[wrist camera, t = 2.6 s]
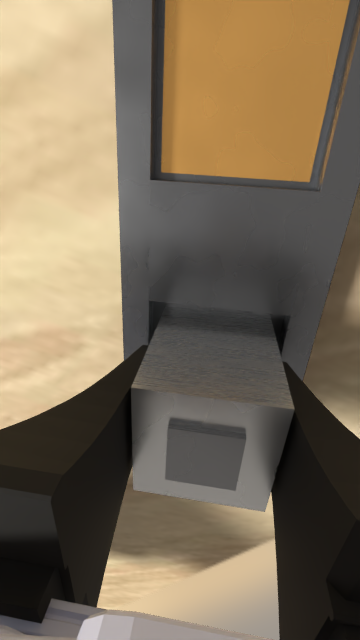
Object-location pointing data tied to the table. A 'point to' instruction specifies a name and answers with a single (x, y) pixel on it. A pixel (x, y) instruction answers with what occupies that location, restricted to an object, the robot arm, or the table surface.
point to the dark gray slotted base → (235, 159)
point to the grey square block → (210, 409)
